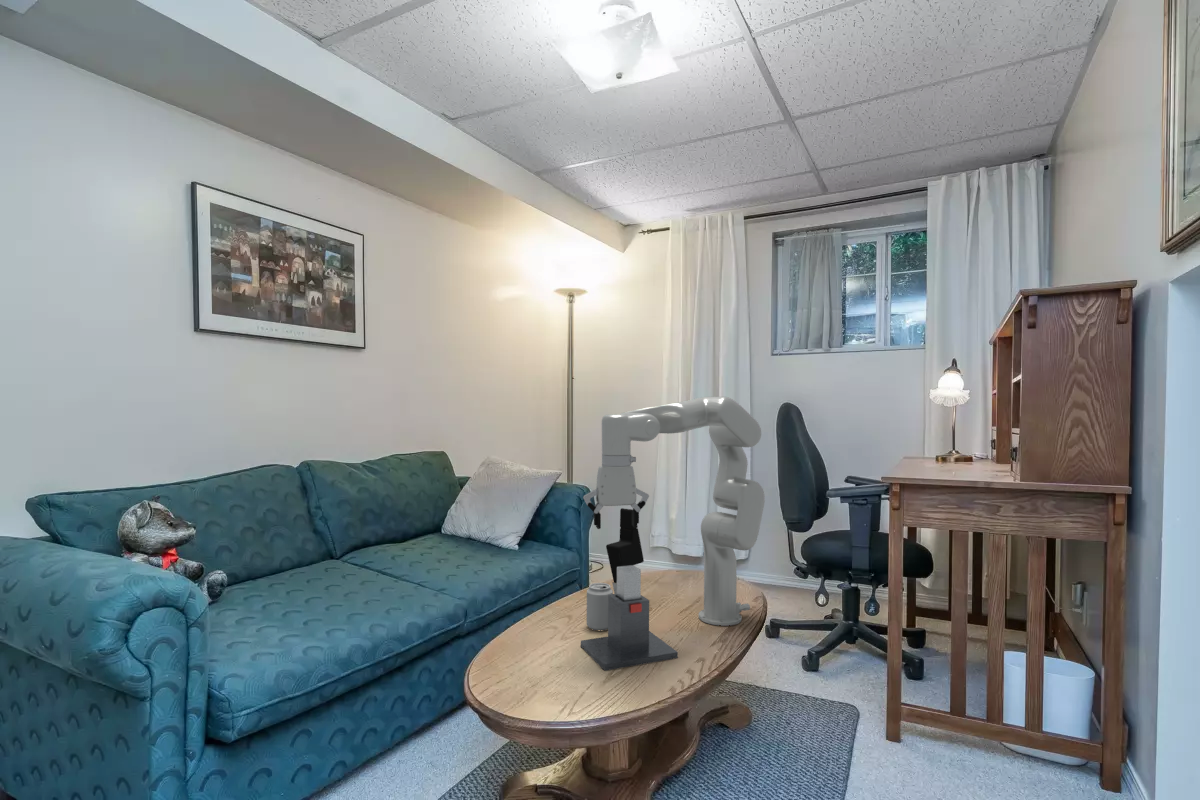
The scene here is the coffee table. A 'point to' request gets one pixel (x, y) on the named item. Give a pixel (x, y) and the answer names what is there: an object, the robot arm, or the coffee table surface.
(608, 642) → the stand housing
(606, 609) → the can
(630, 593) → the column
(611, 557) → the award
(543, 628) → the coffee table surface
